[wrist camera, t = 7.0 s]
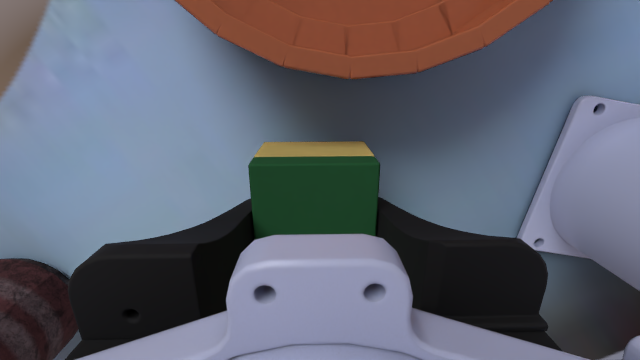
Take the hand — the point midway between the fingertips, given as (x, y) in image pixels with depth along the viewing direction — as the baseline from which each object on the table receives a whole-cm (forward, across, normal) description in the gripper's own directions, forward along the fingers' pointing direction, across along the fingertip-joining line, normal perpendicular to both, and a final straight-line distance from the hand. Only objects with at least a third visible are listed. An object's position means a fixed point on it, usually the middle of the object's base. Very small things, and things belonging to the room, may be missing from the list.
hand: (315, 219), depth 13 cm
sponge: (+1, 0, 0) cm, 1 cm away
